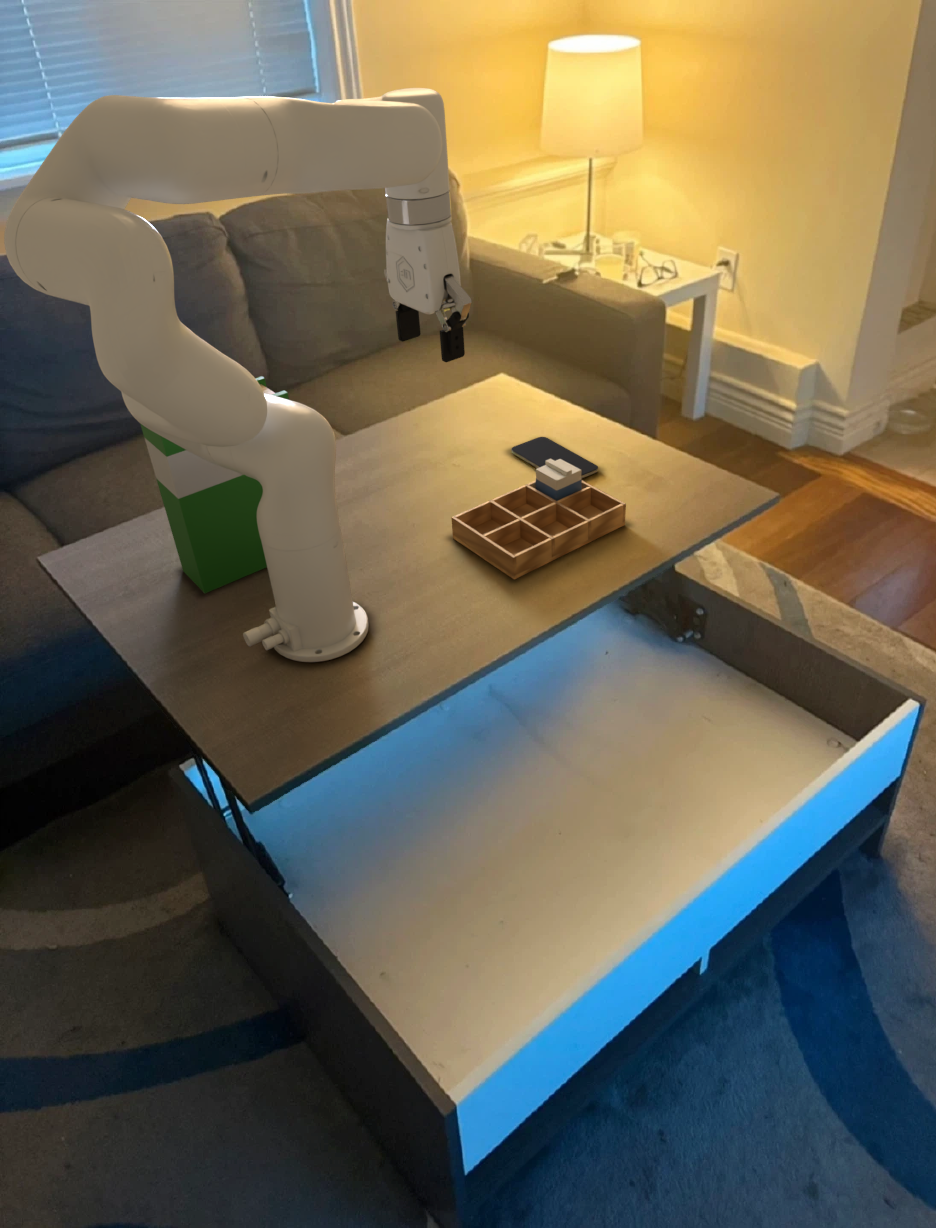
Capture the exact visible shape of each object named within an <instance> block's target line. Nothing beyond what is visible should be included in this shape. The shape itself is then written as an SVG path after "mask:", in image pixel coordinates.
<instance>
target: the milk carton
mask: <svg viewBox="0 0 936 1228" xmlns="http://www.w3.org/2000/svg"><path fill="white" fill-rule="evenodd" d="M535 480H536V490H538V491H540V492H542V493H543V494H545V495H547V496H549V497H550V498H552V499H554V500H556V501H558V500H560V499H562V498H565V497H567V496H569V495H571V494H573V493H576V492H578V491H580V490H581V488H582V481H583V479H581V470H580V469H579V468H577V467H575V466H573V465H571V464H569V463H567V462H565V461H563V460H562V459H558V460H556V461H554V460H552V459H548V460H546V465H544V466H542V467H540V468H536V469H535Z"/></svg>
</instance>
